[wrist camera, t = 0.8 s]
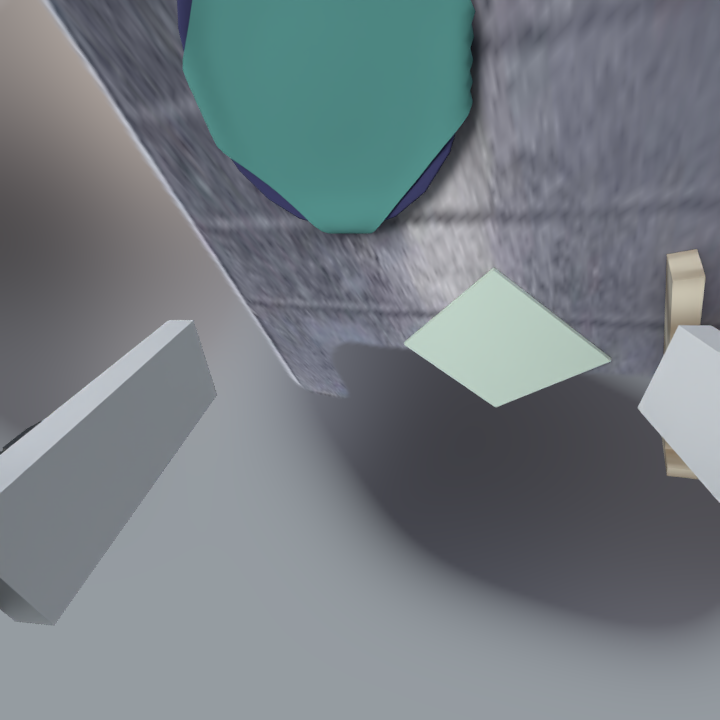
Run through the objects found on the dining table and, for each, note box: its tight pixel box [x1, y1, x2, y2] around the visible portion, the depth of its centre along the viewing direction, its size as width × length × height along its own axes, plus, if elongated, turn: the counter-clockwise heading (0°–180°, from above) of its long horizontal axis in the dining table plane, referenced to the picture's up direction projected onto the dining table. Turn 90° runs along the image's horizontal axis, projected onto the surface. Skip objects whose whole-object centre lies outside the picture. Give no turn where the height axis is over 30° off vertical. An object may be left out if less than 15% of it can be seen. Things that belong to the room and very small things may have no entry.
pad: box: [404, 268, 611, 407], centre depth 36 cm, size 14×14×1 cm
